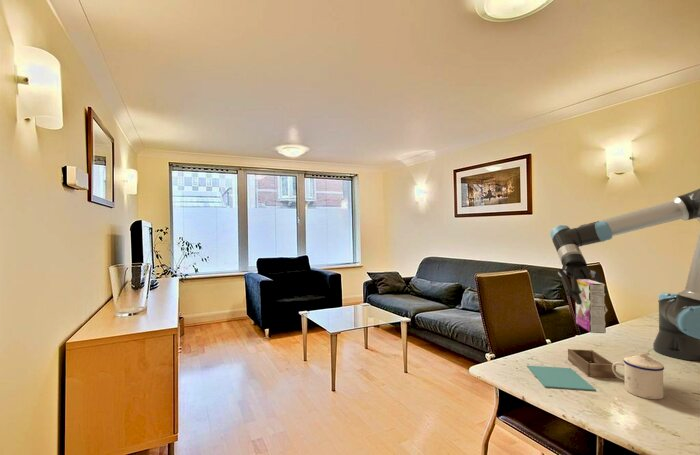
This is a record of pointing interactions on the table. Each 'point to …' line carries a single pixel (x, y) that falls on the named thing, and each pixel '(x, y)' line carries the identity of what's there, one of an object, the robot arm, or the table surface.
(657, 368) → the teacup with lid
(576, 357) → the walnut sleeve
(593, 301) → the candy bar box
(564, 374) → the rubber mat
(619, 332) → the table surface
